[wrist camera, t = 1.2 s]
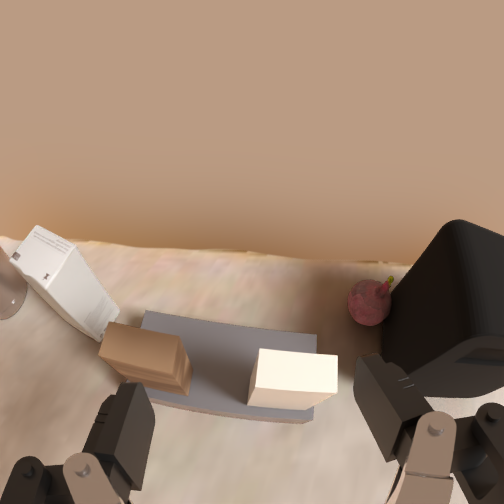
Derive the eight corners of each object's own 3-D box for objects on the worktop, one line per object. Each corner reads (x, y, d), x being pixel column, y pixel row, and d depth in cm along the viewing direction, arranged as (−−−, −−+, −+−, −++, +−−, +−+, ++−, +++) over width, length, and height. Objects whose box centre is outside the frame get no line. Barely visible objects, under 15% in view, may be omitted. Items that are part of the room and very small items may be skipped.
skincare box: (121, 311, 38) (82, 243, 26) (99, 346, 35) (46, 290, 23) (80, 287, 40) (37, 220, 28) (59, 318, 36) (5, 258, 24)
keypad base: (302, 423, 31) (313, 419, 27) (136, 398, 31) (124, 390, 27) (306, 348, 37) (316, 334, 33) (154, 326, 37) (145, 310, 33)
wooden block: (305, 410, 28) (337, 392, 20) (246, 405, 28) (255, 386, 20) (306, 383, 29) (337, 355, 21) (250, 378, 29) (259, 348, 21)
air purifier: (473, 318, 41) (547, 248, 25) (478, 398, 32) (574, 346, 16) (377, 298, 42) (446, 204, 27) (372, 392, 34) (474, 332, 18)
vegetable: (371, 341, 38) (406, 308, 30) (333, 323, 40) (360, 286, 32) (382, 307, 42) (414, 269, 34) (346, 290, 43) (372, 249, 35)
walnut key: (188, 396, 28) (171, 373, 20) (133, 384, 28) (98, 355, 20) (193, 369, 29) (179, 336, 21) (140, 358, 29) (108, 321, 22)
